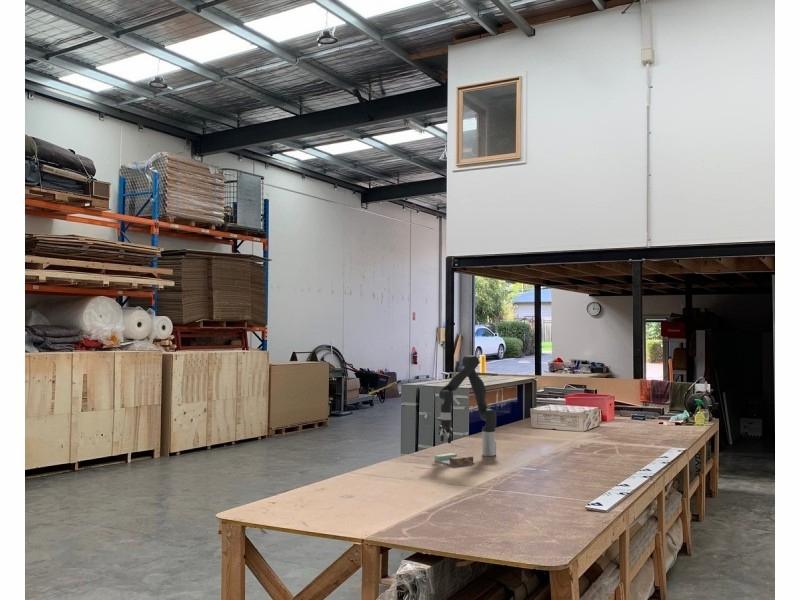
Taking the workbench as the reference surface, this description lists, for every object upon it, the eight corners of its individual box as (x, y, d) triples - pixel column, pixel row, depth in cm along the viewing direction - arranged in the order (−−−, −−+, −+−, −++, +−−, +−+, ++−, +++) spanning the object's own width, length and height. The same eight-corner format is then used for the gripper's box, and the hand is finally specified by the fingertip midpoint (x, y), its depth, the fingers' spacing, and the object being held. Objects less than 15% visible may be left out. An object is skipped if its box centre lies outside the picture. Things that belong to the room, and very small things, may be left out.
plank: (452, 458, 462) (452, 453, 462) (456, 459, 458) (456, 454, 458) (434, 461, 452) (434, 455, 452) (439, 462, 448) (439, 456, 448)
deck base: (461, 460, 455) (461, 458, 455) (474, 464, 442) (474, 462, 442) (439, 462, 446) (439, 461, 446) (452, 466, 433) (452, 465, 433)
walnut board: (468, 461, 446) (468, 455, 446) (473, 462, 442) (473, 456, 442) (449, 463, 438) (449, 457, 438) (454, 465, 433) (454, 459, 434)
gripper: (456, 419, 452) (456, 443, 451) (444, 417, 464) (444, 440, 464) (447, 420, 448) (447, 444, 447) (435, 417, 460) (435, 441, 460)
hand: (445, 442), depth 455 cm, fingers open, 8 cm apart
